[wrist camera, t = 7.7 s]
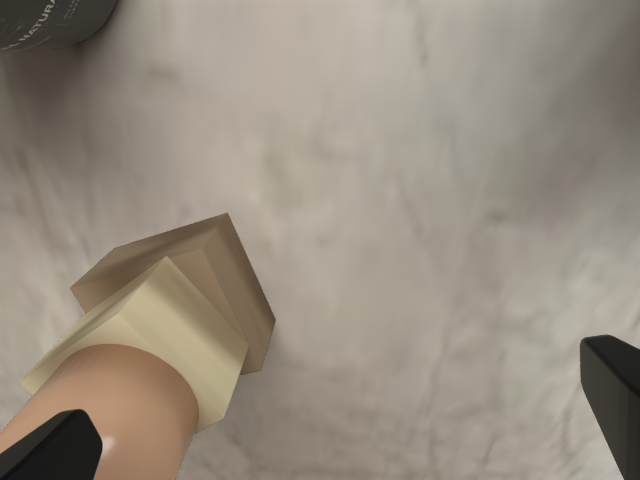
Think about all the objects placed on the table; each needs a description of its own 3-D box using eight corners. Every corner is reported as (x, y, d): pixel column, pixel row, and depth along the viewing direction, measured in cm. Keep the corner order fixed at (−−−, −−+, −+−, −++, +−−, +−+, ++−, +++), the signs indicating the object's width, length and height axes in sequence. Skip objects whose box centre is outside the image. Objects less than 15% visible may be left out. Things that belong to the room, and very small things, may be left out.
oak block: (166, 255, 18) (118, 313, 14) (249, 345, 19) (224, 418, 16) (81, 316, 20) (18, 382, 16) (164, 395, 21) (123, 472, 17)
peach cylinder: (174, 336, 15) (113, 438, 11) (215, 452, 17) (175, 572, 13) (29, 350, 15) (-73, 451, 12) (85, 461, 17) (13, 576, 14)
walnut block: (228, 211, 21) (202, 248, 18) (276, 317, 24) (261, 370, 20) (116, 246, 23) (69, 287, 19) (171, 344, 25) (139, 398, 21)
